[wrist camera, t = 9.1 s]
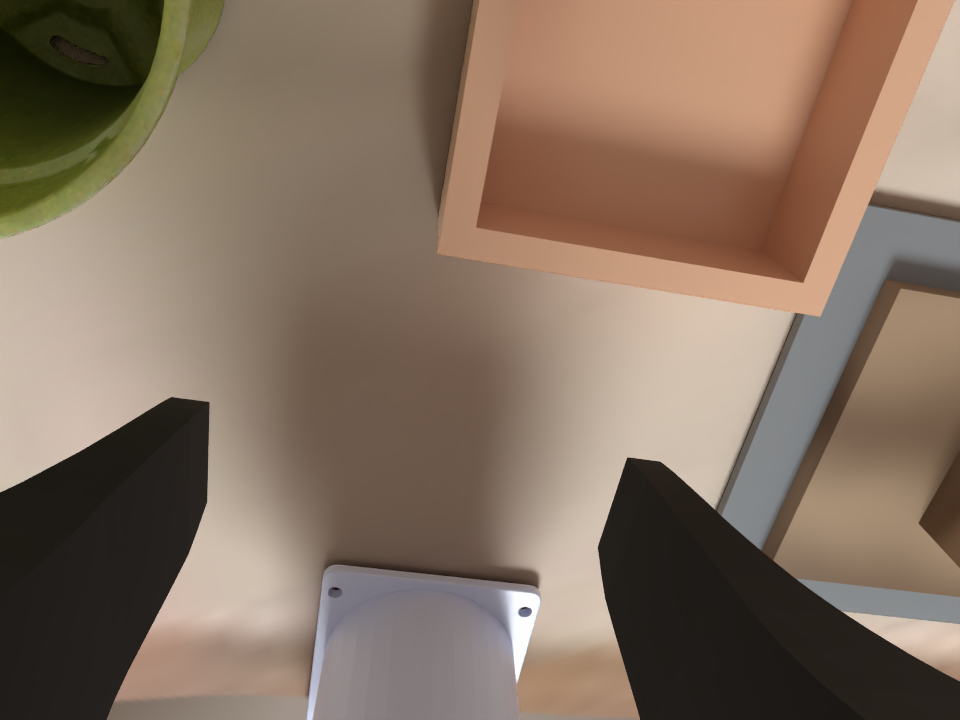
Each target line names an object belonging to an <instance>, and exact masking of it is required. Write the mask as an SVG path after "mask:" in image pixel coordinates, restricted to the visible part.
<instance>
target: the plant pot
mask: <svg viewBox="0 0 960 720" xmlns="http://www.w3.org/2000/svg"><path fill="white" fill-rule="evenodd" d="M223 5H224V0H0V239H1V238H5V237H9V236H14V235H17V234H20V233H23V232H25V231H28V230H31V229H34V228H36V227H39V226H41V225H44V224H46V223H48V222H50V221H52V220H54V219H56V218H58V217H60V216H62V215H64V214H66V213H68V212H70V211H72V210H73V209H75V208H76V207H78V206H80V205H81V204H83V203H84V202H86V201H87V200H89V199H90V198H91V197H92V196H94V195H95V194H96V193H97V192H99V191H100V190H101V189H102V188H103V187H105V186H106V185H107V184H108V183H109V182H111V181H112V180H113V179H114V178H115V177H117V175H118V174H119V173H120V172H121V171H122V170H123V169H124V168H125V167H126V166H127V165H128V164H129V163H130V162H131V161H132V159H133V158H134V157H135V156H136V154H137V153H138V152H139V150H140V149H141V148H142V147H143V145H144V144H145V143H146V141H147V139H148V138H149V136H150V134H151V133H152V131H153V129H154V128H155V126H156V124H157V123H158V121H159V119H160V118H161V116H162V114H163V112H164V110H165V108H166V105H167V103H168V101H169V98H170V96H171V94H172V92H173V89H174V86H175V83H176V80H177V77H178V75H179V74H180V73H182V72H183V71H184V70H185V69H187V68H188V67H189V66H190V65H191V64H192V63H193V62H194V61H195V60H196V59H197V57H198V56H199V55H200V54H201V53H202V51H203V50H204V49H205V48H206V46H207V44H208V42H209V41H210V39H211V37H212V36H213V34H214V32H215V30H216V28H217V25H218V23H219V20H220V17H221V13H222V9H223ZM52 36H60V37H62V38H63V39H65V40H66V41H68V42H70V43H73V44H75V45H76V46H78V47H81V48H82V49H86V50H88V51H90V52H94V53H96V55H98V56H99V55H100V56H105V57H106V58H107V59H108V63H107V62H106V63H105V64H104V65H94V64H85V63H81V62H78V61H74V60H73V59H71V58H69V57H67V56H65V55H63V54H62V53H60V52H59V51H58V50H57V49H56V48H55V47H54V46H53V45H52V44H51V39H52Z"/></svg>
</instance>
